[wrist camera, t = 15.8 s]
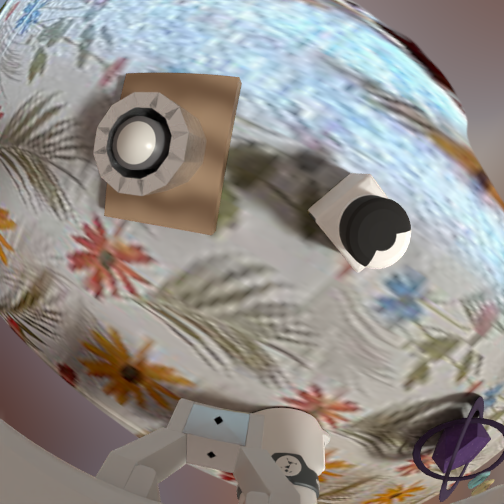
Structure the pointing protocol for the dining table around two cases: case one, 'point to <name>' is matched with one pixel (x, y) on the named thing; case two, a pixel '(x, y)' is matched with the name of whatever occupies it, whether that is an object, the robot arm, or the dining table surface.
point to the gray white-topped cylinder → (141, 143)
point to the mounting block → (215, 157)
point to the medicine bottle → (363, 222)
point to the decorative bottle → (460, 450)
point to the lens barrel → (180, 153)
